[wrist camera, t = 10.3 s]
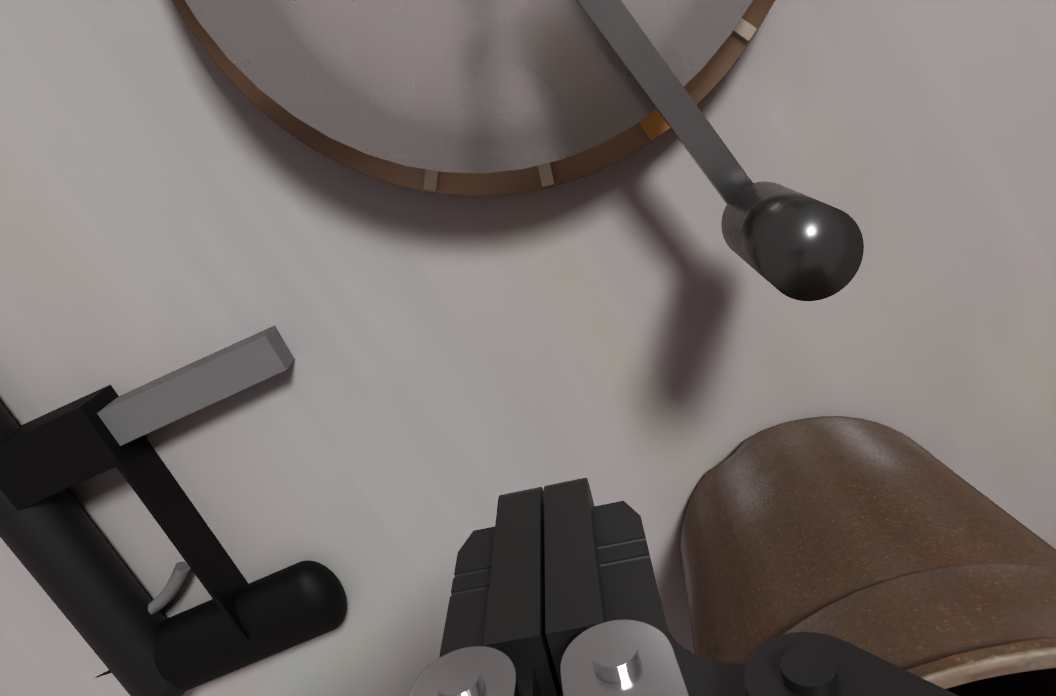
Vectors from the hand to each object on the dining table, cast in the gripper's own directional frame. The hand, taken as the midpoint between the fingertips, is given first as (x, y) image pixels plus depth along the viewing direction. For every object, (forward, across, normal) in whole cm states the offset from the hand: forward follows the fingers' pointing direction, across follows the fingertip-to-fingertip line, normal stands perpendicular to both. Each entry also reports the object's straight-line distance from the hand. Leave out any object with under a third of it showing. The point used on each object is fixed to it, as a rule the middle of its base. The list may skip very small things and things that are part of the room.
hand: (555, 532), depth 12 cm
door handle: (+19, +18, +5) cm, 27 cm away
